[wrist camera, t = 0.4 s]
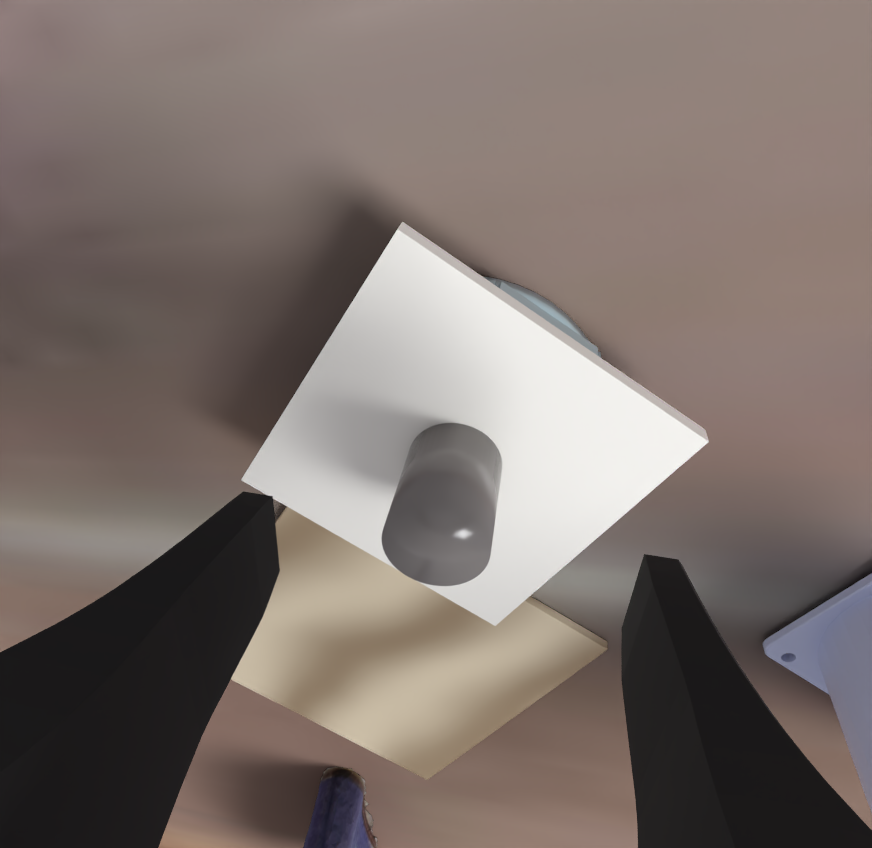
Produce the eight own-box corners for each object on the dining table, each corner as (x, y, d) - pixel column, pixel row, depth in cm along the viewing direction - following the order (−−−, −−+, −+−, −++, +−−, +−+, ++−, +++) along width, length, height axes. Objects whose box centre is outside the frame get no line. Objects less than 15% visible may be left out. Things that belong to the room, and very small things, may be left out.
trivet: (607, 641, 29) (607, 649, 28) (428, 772, 36) (427, 779, 36) (313, 467, 26) (310, 474, 26) (186, 648, 34) (182, 654, 33)
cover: (705, 429, 19) (734, 531, 16) (496, 612, 25) (484, 718, 21) (402, 221, 17) (360, 285, 14) (247, 469, 23) (190, 559, 19)
